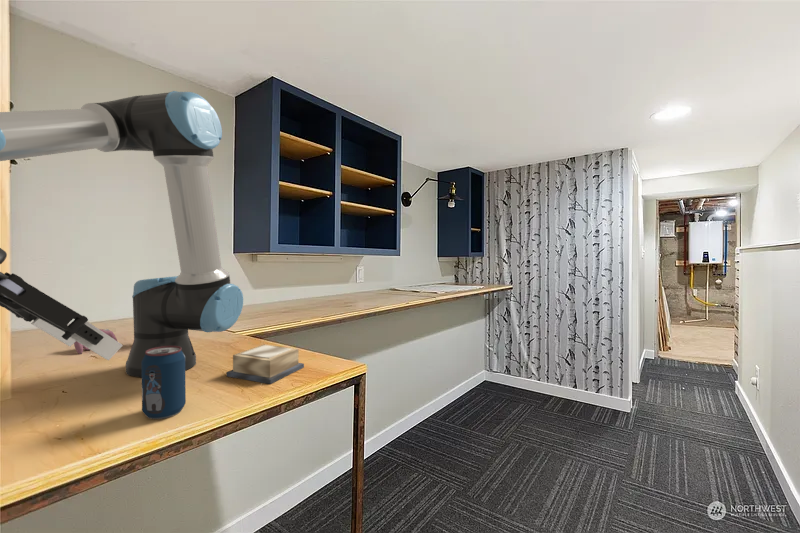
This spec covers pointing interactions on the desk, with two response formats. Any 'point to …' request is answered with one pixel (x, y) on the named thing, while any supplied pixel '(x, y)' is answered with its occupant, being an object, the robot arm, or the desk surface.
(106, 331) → the video game controller
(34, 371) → the desk surface
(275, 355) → the beige square box
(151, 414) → the soda can
